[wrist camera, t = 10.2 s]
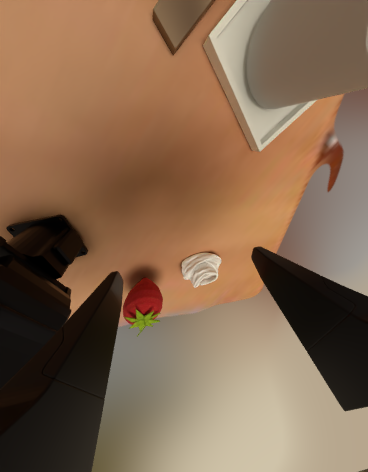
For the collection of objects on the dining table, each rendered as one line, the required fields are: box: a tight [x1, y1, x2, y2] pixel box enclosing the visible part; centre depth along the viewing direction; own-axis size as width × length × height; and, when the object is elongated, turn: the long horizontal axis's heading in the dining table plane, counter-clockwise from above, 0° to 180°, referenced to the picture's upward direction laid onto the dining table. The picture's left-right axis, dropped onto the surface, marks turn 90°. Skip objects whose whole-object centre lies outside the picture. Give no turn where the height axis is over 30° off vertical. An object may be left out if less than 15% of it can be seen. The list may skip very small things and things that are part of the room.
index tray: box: [203, 0, 317, 152], centre depth 14 cm, size 11×11×2 cm
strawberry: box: [123, 277, 163, 335], centre depth 24 cm, size 6×8×10 cm
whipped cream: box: [182, 253, 221, 288], centre depth 27 cm, size 8×7×5 cm
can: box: [247, 0, 368, 109], centre depth 9 cm, size 8×8×12 cm
